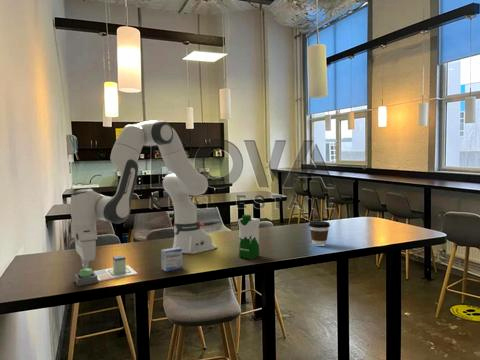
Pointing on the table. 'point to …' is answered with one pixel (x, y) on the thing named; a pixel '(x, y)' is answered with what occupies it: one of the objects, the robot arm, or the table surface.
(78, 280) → the button housing
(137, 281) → the table surface
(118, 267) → the marker block
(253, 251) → the milk carton
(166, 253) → the medicine box
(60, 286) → the table surface
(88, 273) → the button
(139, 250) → the table surface
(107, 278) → the picture board
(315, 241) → the coffee cup
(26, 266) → the table surface
